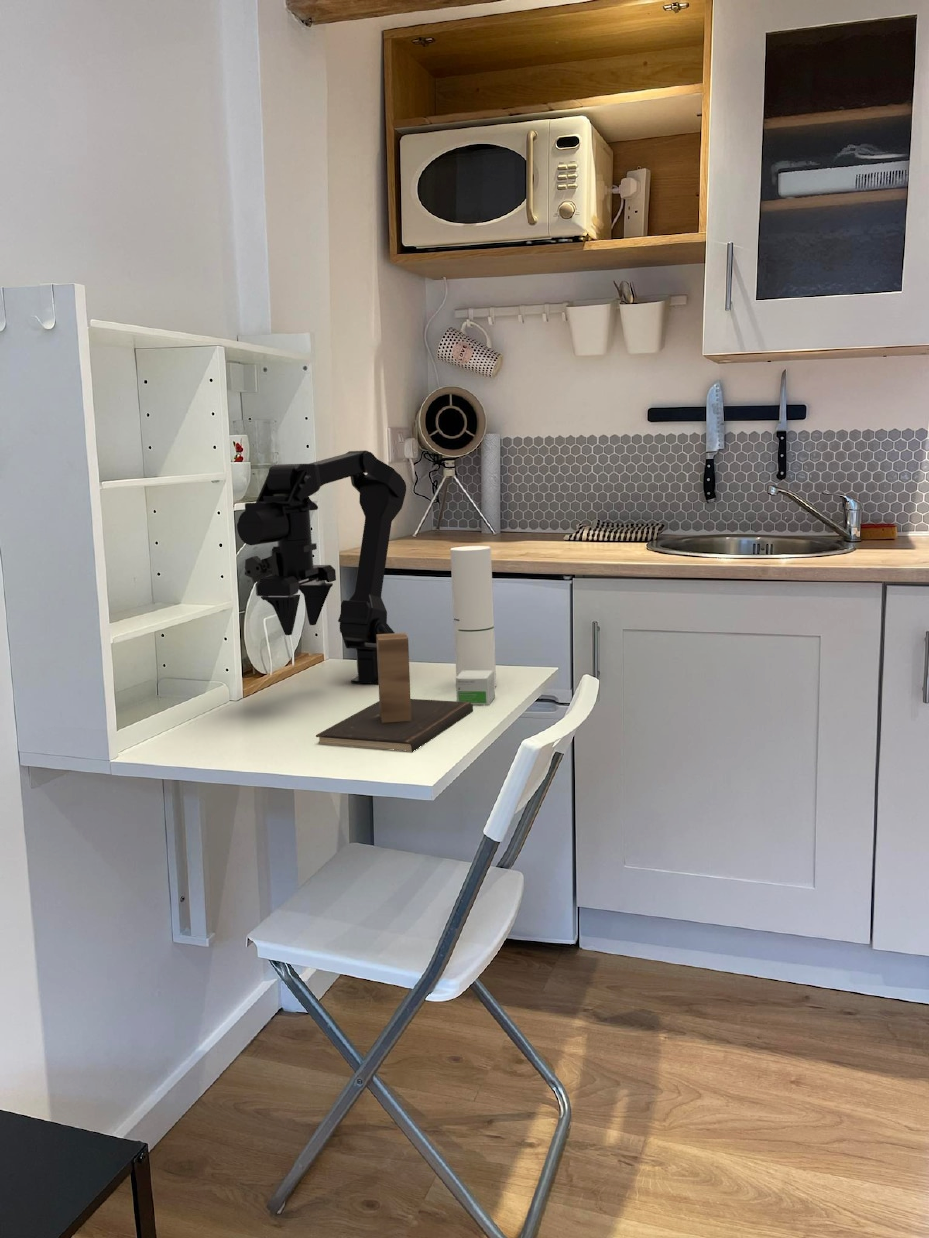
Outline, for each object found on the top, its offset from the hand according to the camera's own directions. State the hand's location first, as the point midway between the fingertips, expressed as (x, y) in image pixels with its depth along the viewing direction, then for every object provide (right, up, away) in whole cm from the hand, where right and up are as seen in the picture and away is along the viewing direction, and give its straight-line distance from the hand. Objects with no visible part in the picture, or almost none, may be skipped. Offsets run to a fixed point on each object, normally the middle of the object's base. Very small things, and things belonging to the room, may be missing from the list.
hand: (300, 629), depth 176 cm
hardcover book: (+18, -16, -15) cm, 28 cm away
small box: (+30, -12, -1) cm, 32 cm away
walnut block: (+17, -14, -15) cm, 27 cm away
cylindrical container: (+30, -10, +9) cm, 33 cm away
